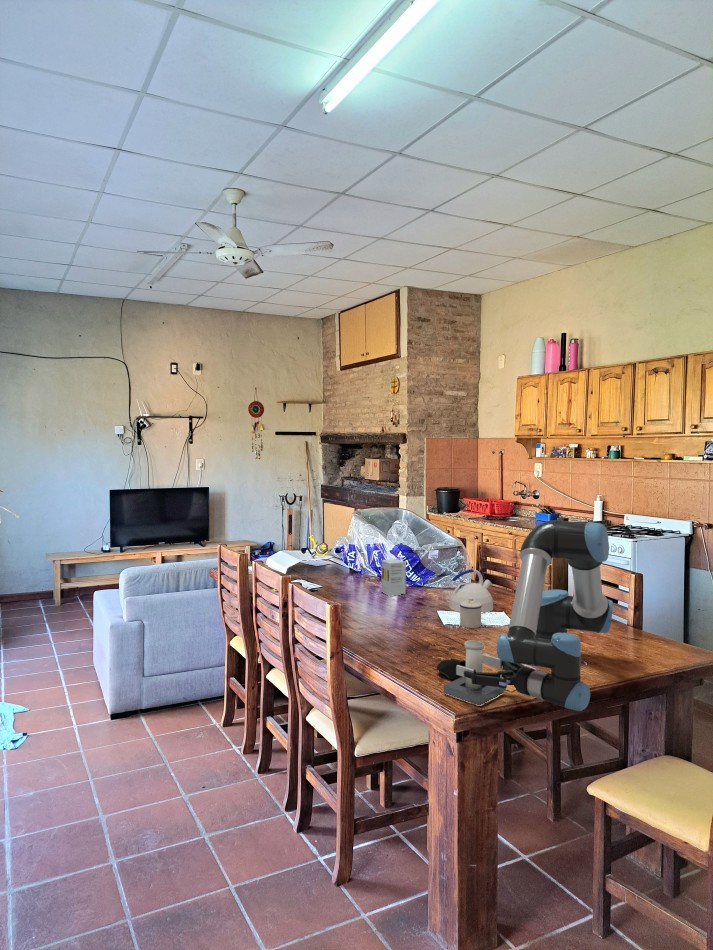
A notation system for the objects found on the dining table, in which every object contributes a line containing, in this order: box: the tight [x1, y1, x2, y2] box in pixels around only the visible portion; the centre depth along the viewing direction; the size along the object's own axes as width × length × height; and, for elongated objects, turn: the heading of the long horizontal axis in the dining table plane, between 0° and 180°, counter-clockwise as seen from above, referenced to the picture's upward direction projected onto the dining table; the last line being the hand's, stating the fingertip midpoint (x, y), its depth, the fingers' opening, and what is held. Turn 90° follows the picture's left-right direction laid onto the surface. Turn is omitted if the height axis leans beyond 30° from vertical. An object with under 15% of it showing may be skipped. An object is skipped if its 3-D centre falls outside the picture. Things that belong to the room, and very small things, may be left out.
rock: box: [436, 658, 466, 681], centre depth 212 cm, size 9×10×10 cm
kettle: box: [448, 568, 494, 613], centre depth 297 cm, size 20×21×18 cm
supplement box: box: [380, 558, 407, 597], centre depth 324 cm, size 10×9×17 cm
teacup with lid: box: [459, 597, 482, 629], centre depth 271 cm, size 12×9×12 cm
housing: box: [443, 677, 505, 705], centre depth 196 cm, size 13×13×3 cm
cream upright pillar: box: [464, 639, 485, 691], centre depth 196 cm, size 6×6×16 cm
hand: (470, 664), depth 196 cm, fingers open, 13 cm apart
